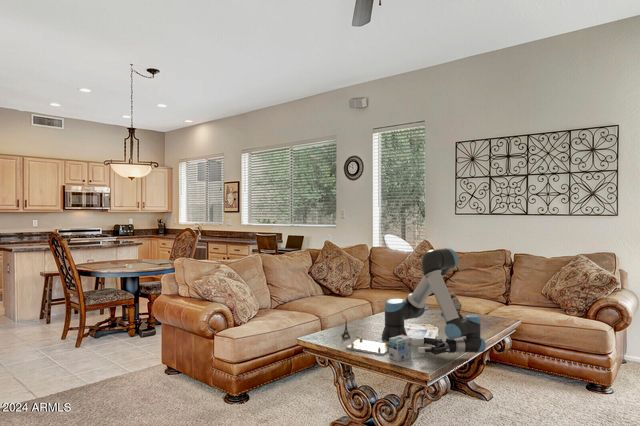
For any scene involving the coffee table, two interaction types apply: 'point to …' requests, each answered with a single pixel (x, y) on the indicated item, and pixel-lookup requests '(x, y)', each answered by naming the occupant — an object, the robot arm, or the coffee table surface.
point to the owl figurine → (456, 304)
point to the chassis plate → (369, 347)
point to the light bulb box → (400, 347)
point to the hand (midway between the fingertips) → (414, 345)
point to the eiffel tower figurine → (346, 333)
